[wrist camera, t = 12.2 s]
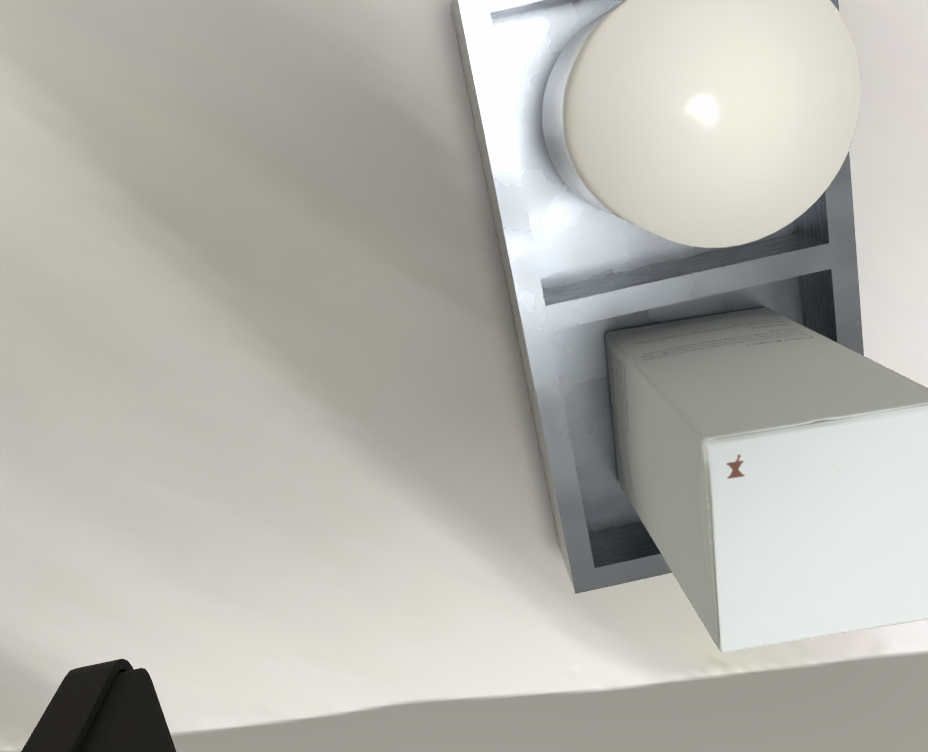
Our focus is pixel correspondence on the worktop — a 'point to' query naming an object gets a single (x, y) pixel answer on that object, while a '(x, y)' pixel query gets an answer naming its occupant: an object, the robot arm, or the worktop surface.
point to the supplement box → (774, 475)
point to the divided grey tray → (614, 278)
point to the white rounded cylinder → (705, 114)
